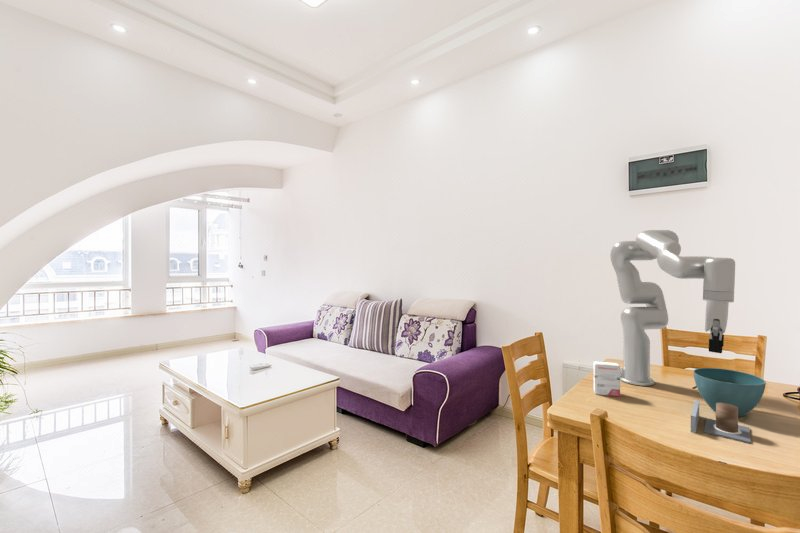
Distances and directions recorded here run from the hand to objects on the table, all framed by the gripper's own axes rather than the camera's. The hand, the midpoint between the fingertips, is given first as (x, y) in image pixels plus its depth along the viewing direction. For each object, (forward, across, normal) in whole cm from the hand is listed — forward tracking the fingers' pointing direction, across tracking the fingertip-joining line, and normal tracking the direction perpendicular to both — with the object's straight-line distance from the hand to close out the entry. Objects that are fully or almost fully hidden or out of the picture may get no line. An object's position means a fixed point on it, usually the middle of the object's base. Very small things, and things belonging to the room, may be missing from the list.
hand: (716, 349), depth 118 cm
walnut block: (+22, +9, +3) cm, 24 cm away
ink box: (+24, -2, -32) cm, 40 cm away
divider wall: (+23, +9, -4) cm, 25 cm away
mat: (+23, +9, +4) cm, 24 cm away
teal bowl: (+23, -10, +3) cm, 26 cm away
